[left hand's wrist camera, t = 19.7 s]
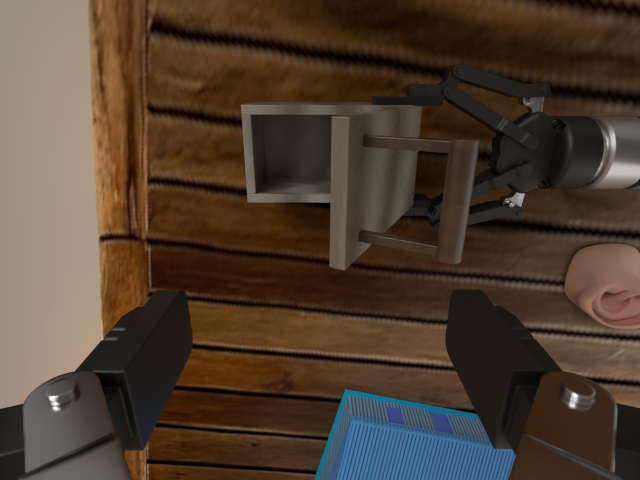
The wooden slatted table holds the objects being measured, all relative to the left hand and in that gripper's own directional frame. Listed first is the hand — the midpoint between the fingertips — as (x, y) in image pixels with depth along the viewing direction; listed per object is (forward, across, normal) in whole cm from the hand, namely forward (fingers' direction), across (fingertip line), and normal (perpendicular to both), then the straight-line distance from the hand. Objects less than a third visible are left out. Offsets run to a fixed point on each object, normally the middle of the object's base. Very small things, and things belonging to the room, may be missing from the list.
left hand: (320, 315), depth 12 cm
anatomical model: (+38, +40, -19) cm, 59 cm away
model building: (+38, +20, -54) cm, 70 cm away
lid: (+21, +5, 0) cm, 21 cm away
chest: (+38, +1, 0) cm, 38 cm away
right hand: (+31, +6, 0) cm, 31 cm away
